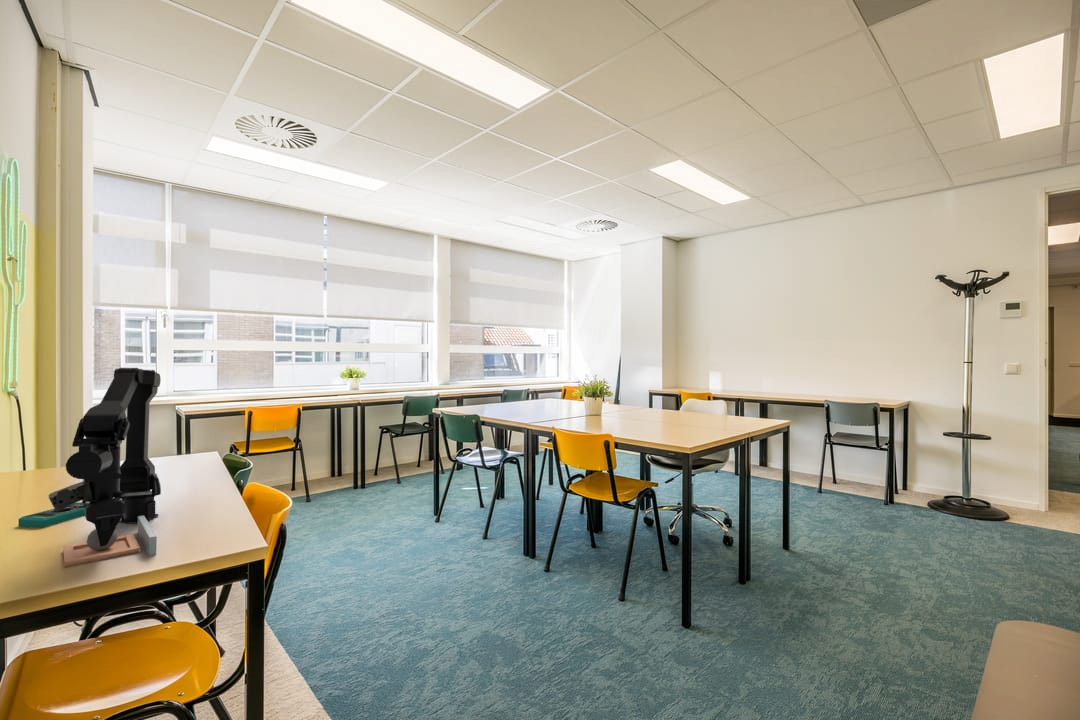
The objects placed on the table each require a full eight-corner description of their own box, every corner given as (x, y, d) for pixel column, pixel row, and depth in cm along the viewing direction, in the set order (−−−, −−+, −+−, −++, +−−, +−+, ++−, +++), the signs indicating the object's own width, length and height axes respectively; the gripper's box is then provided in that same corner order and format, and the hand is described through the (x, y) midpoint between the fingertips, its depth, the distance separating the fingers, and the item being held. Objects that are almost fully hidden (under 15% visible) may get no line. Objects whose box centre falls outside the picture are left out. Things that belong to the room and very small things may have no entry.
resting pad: (63, 551, 110) (63, 546, 110) (133, 538, 118) (133, 533, 118) (64, 567, 101) (64, 562, 101) (139, 552, 110) (140, 547, 110)
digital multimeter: (100, 512, 139) (100, 502, 139) (42, 530, 124) (42, 518, 124) (77, 511, 140) (77, 500, 140) (16, 528, 125) (16, 516, 125)
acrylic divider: (137, 532, 122) (137, 516, 122) (143, 531, 123) (143, 515, 123) (149, 556, 108) (149, 537, 108) (156, 554, 109) (156, 536, 109)
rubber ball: (80, 553, 107) (80, 530, 107) (100, 545, 112) (101, 523, 112) (103, 554, 107) (103, 530, 107) (122, 545, 112) (123, 523, 112)
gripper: (51, 467, 111) (50, 537, 111) (52, 482, 98) (50, 562, 97) (117, 461, 119) (116, 526, 119) (126, 474, 105) (124, 548, 105)
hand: (101, 540), depth 110 cm, fingers open, 9 cm apart
